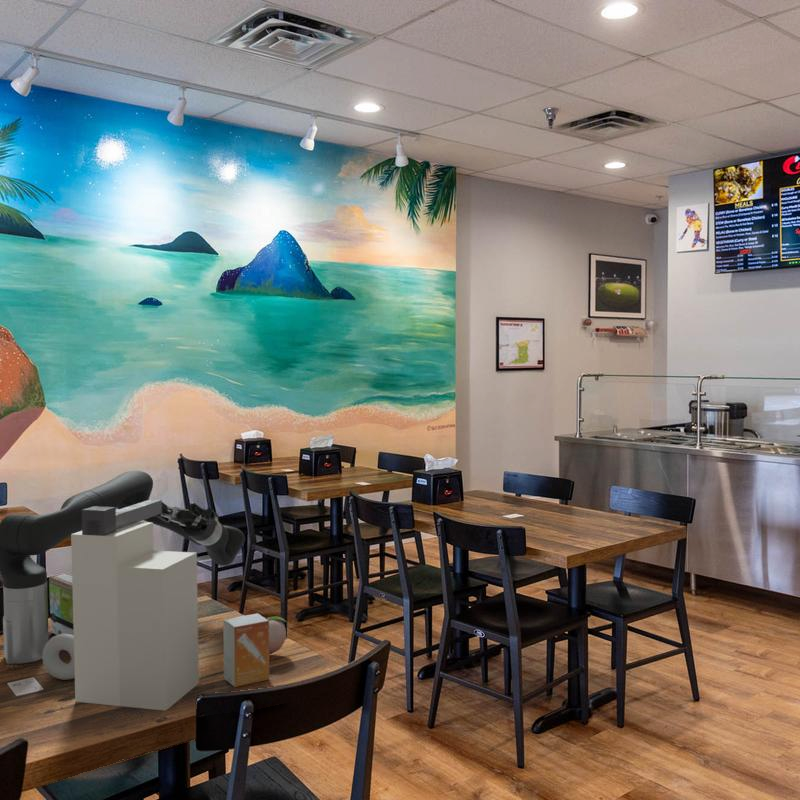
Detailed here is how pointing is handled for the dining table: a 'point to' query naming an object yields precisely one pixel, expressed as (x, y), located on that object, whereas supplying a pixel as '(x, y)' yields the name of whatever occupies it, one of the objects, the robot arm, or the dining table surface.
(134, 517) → the metal bar
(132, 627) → the two tier stand
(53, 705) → the dining table surface
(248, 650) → the small box
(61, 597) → the tea box
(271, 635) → the decorative fruit
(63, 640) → the donut
